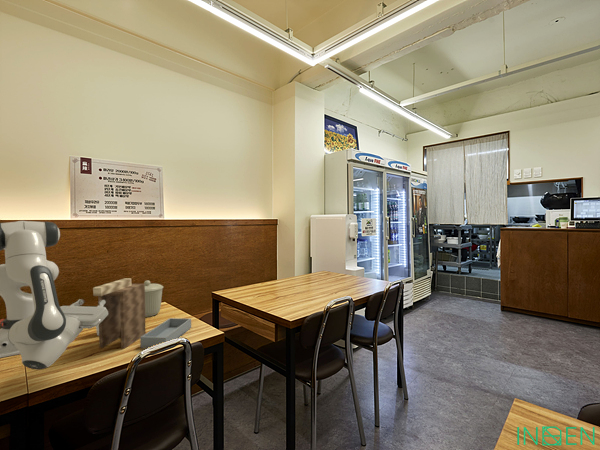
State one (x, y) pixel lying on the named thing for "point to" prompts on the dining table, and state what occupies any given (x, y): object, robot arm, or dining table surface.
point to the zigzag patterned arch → (123, 316)
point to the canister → (152, 298)
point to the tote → (165, 332)
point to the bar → (111, 287)
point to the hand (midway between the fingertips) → (92, 300)
